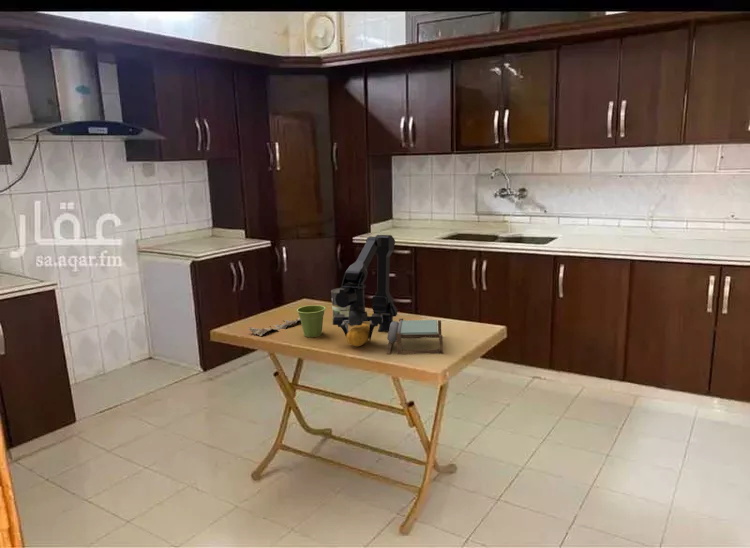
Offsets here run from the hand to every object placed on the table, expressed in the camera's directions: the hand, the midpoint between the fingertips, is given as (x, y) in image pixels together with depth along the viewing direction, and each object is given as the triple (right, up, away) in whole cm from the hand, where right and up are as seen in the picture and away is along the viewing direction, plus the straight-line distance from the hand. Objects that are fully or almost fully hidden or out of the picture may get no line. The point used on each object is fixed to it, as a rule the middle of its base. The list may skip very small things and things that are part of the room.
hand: (359, 340), depth 210 cm
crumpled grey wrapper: (-34, +2, +33) cm, 47 cm away
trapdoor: (+20, +2, -3) cm, 21 cm away
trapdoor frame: (+21, -1, -3) cm, 21 cm away
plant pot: (-20, 0, +16) cm, 25 cm away
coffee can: (-8, +4, +36) cm, 37 cm away
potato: (0, -2, 0) cm, 2 cm away
